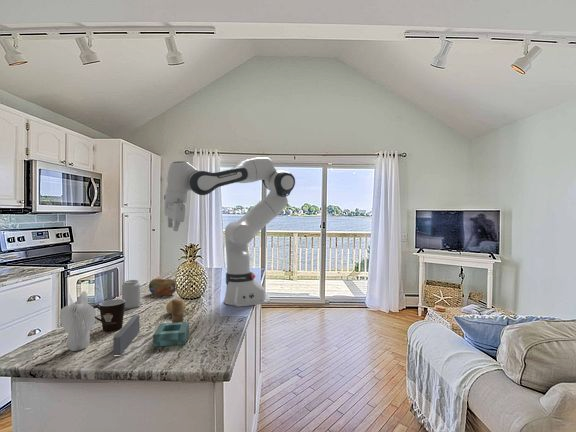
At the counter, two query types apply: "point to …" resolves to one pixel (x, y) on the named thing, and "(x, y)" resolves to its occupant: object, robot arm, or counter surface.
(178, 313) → the dowel
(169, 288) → the tin
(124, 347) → the wall
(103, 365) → the counter surface
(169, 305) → the onion
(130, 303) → the can
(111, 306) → the coffee mug
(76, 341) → the shell sculpture
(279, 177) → the robot arm
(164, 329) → the block
